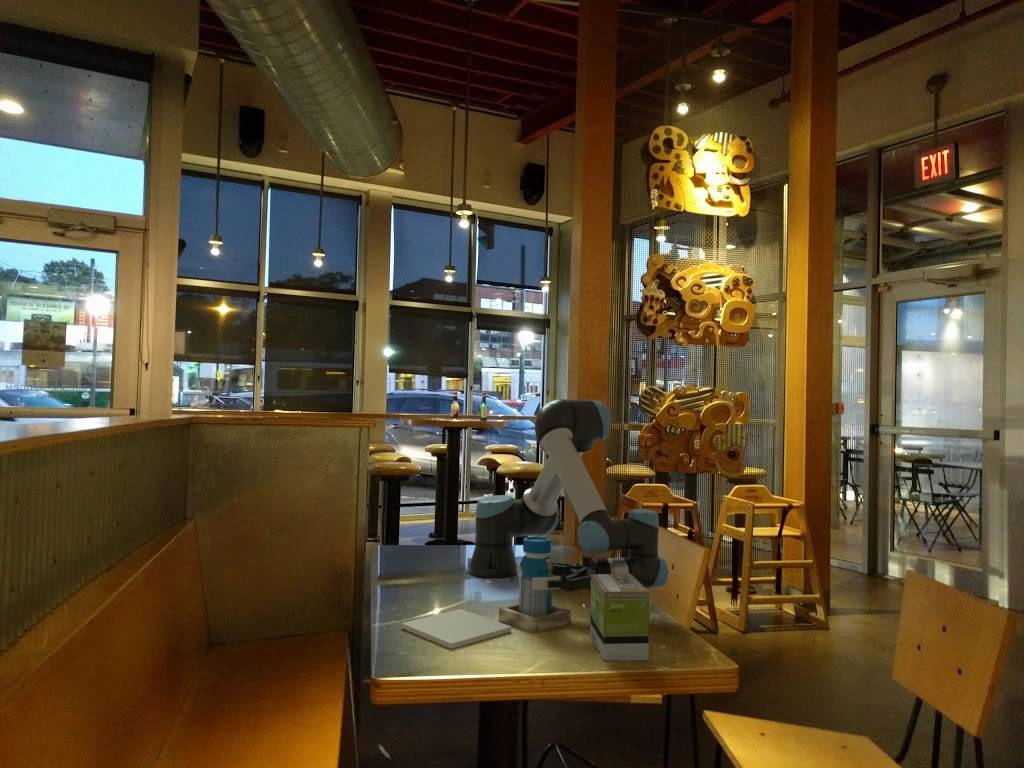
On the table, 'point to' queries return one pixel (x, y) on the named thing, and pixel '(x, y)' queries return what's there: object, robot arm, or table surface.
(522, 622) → the collar
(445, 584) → the table surface
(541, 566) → the beverage bottle
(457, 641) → the serving board
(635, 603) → the tea box
